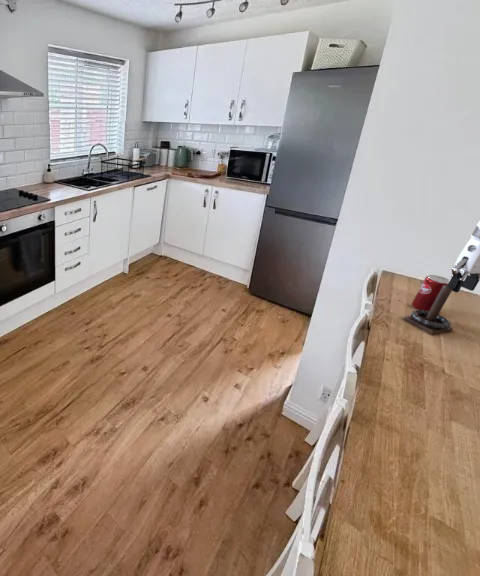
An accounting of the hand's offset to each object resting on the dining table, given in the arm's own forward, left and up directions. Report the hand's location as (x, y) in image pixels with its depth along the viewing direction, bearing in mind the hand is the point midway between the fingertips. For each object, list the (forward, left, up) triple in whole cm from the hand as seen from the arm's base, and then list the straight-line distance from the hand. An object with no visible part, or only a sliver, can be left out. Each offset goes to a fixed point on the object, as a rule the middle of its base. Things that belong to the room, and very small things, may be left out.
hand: (459, 288), depth 116 cm
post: (0, +5, -13) cm, 14 cm away
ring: (+1, +5, -11) cm, 12 cm away
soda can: (+8, -5, -13) cm, 16 cm away
